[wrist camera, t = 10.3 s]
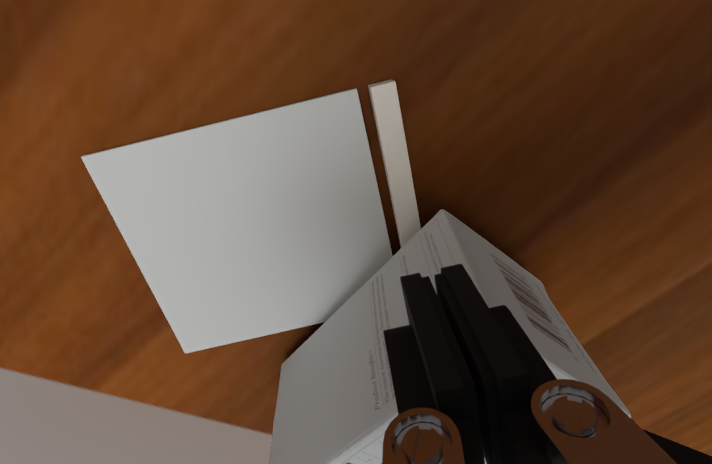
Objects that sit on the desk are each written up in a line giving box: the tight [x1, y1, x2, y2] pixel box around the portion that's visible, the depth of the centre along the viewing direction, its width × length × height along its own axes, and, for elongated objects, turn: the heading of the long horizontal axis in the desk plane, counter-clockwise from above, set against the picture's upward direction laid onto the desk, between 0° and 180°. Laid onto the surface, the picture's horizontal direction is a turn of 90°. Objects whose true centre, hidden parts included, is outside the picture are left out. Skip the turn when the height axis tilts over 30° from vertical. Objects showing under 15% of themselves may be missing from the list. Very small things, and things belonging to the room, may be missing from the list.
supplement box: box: [269, 209, 631, 464], centre depth 17 cm, size 7×7×13 cm
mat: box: [81, 88, 393, 353], centre depth 19 cm, size 12×11×1 cm
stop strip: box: [368, 80, 421, 248], centre depth 18 cm, size 1×11×1 cm, turn 13°
